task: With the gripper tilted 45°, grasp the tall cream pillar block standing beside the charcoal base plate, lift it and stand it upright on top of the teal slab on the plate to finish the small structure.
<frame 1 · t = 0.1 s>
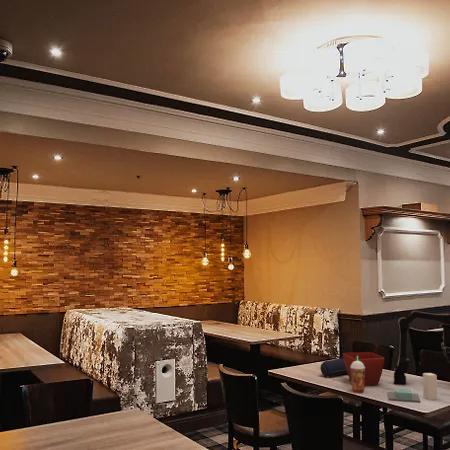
hand: (449, 361, 292), 15 cm above the table, tool pointing down, fingers open, 9 cm apart
cream pillar: (430, 398, 267), on the table
portable speaker: (337, 375, 321), on the table
smoothie: (358, 391, 281), on the table
plant pot: (363, 383, 299), on the table
blueprint base: (403, 398, 267), on the table
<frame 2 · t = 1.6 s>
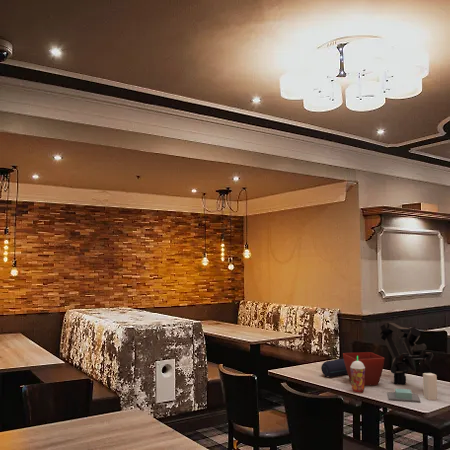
hand: (422, 370, 275), 13 cm above the table, tool tilted 45°, fingers open, 9 cm apart
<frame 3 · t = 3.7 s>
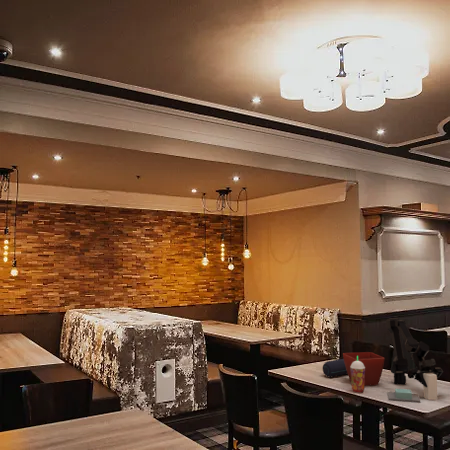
hand: (431, 386, 266), 7 cm above the table, tool tilted 45°, fingers closed on cream pillar, 5 cm apart
cream pillar: (430, 398, 267), on the table, touching gripper
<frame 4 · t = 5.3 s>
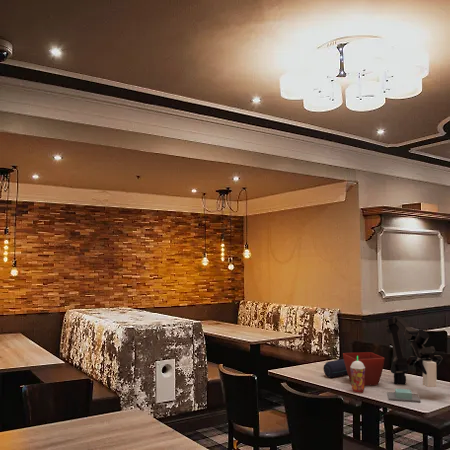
hand: (430, 373, 266), 13 cm above the table, tool tilted 45°, fingers closed on cream pillar, 5 cm apart
cream pillar: (429, 385, 267), point 7 cm above the table, touching gripper
when the fingers open (12 cm above the table, at t = 6.9 s): cream pillar drops 1 cm, resting on blueprint base.
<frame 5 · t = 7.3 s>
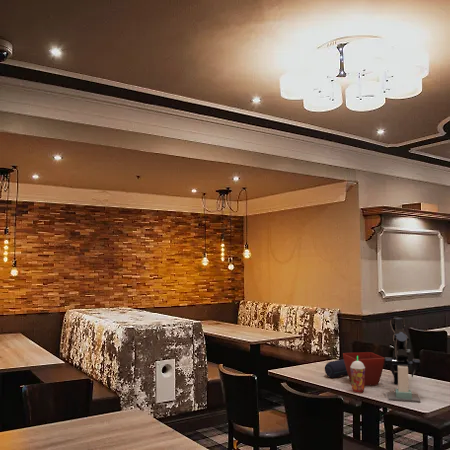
hand: (403, 376, 266), 12 cm above the table, tool tilted 45°, fingers open, 9 cm apart
cream pillar: (403, 390, 267), point 4 cm above the table, touching blueprint base
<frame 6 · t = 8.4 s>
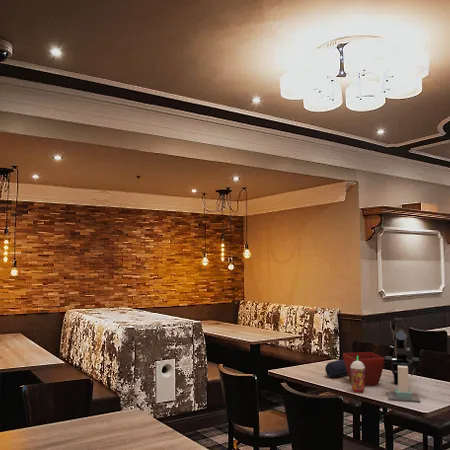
hand: (402, 374, 269), 12 cm above the table, tool tilted 45°, fingers open, 9 cm apart
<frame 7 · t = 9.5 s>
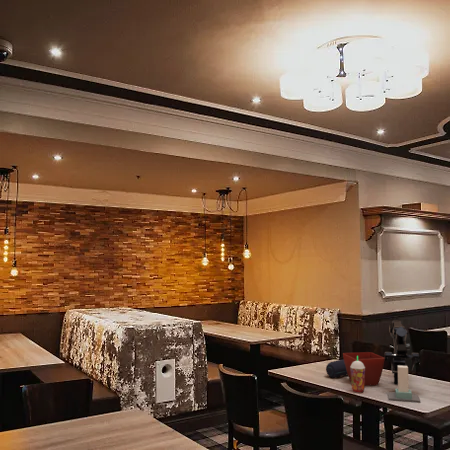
hand: (403, 370, 275), 13 cm above the table, tool tilted 40°, fingers open, 9 cm apart
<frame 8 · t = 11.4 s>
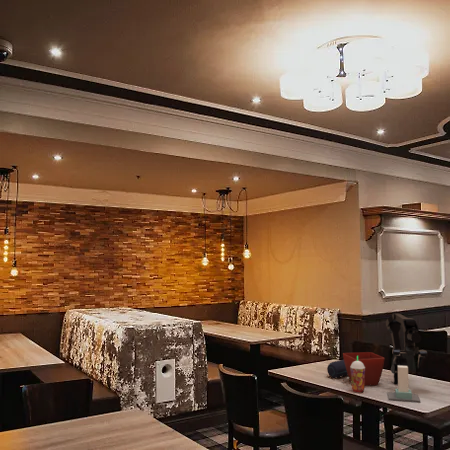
hand: (409, 367, 283), 13 cm above the table, tool pointing down, fingers open, 9 cm apart
at the end: cream pillar 0.0 cm off-centre on the blueprint base, point 4.0 cm above the blueprint base's base; cream pillar tilted 0°; the gripper is holding nothing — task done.
